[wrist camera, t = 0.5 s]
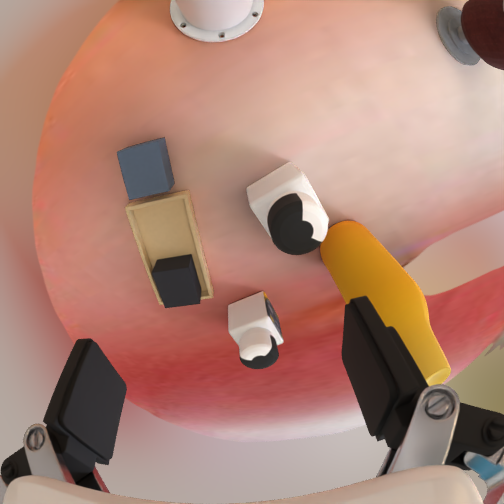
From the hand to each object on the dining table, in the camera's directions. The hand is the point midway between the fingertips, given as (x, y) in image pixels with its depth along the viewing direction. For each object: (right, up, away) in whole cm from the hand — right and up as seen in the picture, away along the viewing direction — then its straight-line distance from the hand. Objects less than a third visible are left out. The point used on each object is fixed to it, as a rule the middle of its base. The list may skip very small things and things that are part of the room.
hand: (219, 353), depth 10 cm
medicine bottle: (+1, -7, +42) cm, 43 cm away
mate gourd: (+38, +43, +18) cm, 60 cm away
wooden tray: (-11, +4, +35) cm, 37 cm away
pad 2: (-11, 0, +37) cm, 38 cm away
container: (+5, +12, +32) cm, 35 cm away
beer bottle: (+17, +5, +37) cm, 41 cm away
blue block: (-13, +16, +28) cm, 35 cm away
